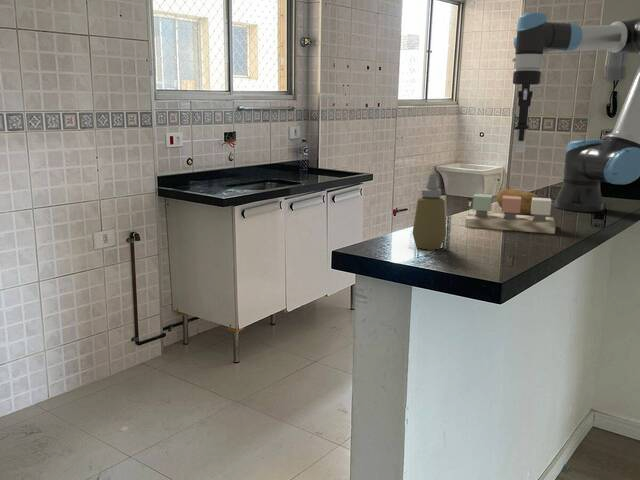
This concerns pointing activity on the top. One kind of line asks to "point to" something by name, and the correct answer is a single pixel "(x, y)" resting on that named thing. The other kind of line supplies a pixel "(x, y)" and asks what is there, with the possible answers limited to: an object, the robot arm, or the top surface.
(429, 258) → the top surface
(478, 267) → the top surface
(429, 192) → the squeeze bottle
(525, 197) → the potato
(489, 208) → the block sage
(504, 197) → the block terracotta
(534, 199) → the block cream
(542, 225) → the board
